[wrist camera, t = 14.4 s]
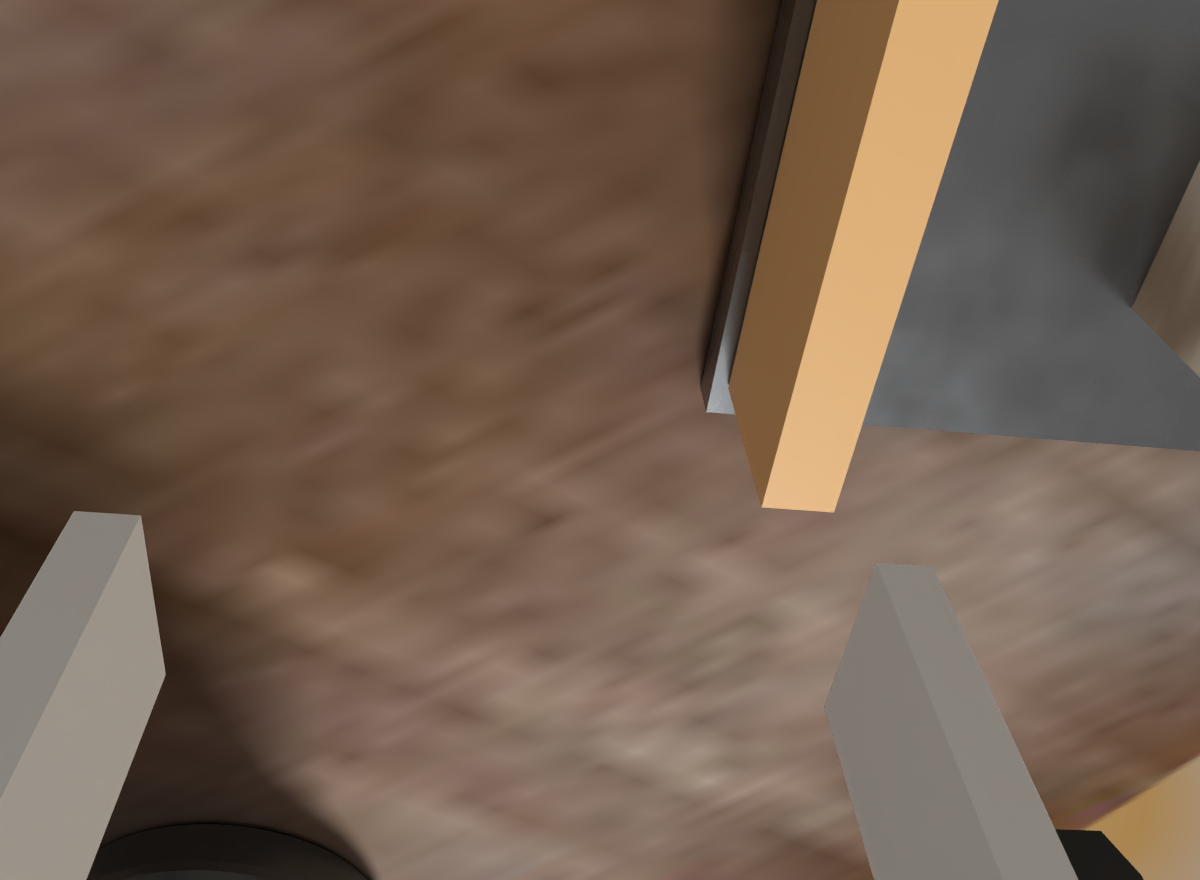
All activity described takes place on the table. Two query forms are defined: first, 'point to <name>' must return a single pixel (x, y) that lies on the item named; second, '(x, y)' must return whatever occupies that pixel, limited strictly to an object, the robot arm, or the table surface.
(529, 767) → the table surface
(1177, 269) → the block
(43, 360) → the table surface
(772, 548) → the table surface
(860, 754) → the robot arm
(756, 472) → the bar
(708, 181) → the table surface
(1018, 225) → the base
